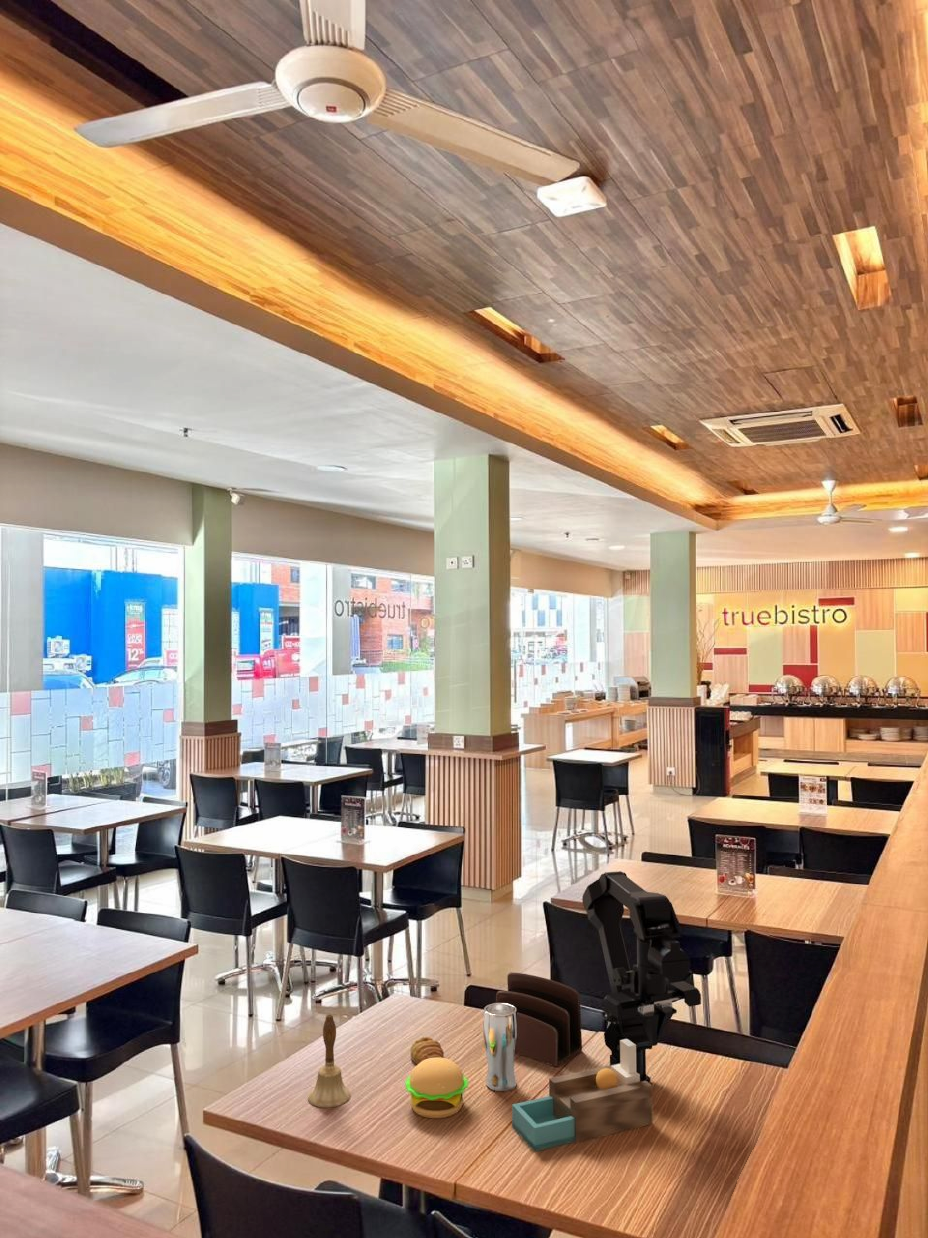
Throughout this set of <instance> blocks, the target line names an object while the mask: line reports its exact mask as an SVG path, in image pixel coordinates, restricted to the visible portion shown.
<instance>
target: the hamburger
mask: <svg viewBox="0 0 928 1238" xmlns="http://www.w3.org/2000/svg"><path fill="white" fill-rule="evenodd" d="M468 1086H469V1081H468V1078H466V1077H465V1075H464V1073H463V1071H462V1070H461V1068H460V1066H459V1065H458V1064H456V1062H454V1061H453V1060H451V1059H449V1058H446V1057H444V1058H429V1059H425V1060H423V1061H422V1062H420V1063H419V1064H418V1065H417V1064H416V1065H415V1067H414V1068H413V1069H412V1071H411V1073H410V1075H408V1077H407V1079H406V1082H405V1089H406V1091H407V1092H408V1093H410V1101H409V1102H410V1107H411V1108H412V1110H413V1111H414V1112H415V1113H416V1114H417V1115H419V1116H421V1117H424V1118H427V1119H444V1118H448V1117H452V1116H454V1115H455V1114H457V1113H458V1112H460V1110H461V1108H462V1106H463V1105H464V1097H463V1095H464V1094H463V1093H464V1091H465V1090H466V1089H467V1088H468Z"/></svg>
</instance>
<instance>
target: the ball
mask: <svg viewBox="0 0 928 1238" xmlns="http://www.w3.org/2000/svg"><path fill="white" fill-rule="evenodd" d="M596 1083H597V1086H598V1087H599V1088H600V1089H601V1090H606V1089H610V1088H615V1087H617V1083H618V1079H617V1076H616V1074H615V1072H614V1071H613V1070H611V1069H608V1068H604V1069H601V1070H600V1071H599V1072H598V1074H597V1076H596Z"/></svg>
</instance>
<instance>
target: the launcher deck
mask: <svg viewBox="0 0 928 1238" xmlns="http://www.w3.org/2000/svg"><path fill="white" fill-rule="evenodd" d="M618 1064H620V1063H618ZM613 1065H617V1064H613ZM613 1065H610V1064H609V1065H605V1066H599V1067H595V1068H591V1069H587V1070H582V1071H578V1072H573V1073H568V1074H563V1075H558V1076H555V1077H554V1076H553V1077H550V1078H549V1079H548V1092H549V1093H548V1096H551V1097H552V1098H553V1115H554V1116H555V1117H556V1118H557V1119H561V1118H565V1117H570V1116H572V1117H573V1118H574V1119H575V1143H576V1144H578V1143H581V1142H585V1141H589V1140H594V1139H598V1138H602V1137H605V1136H608V1135H614V1134H617V1133H622V1132H626V1131H630V1130H633V1129H637V1128H641V1127H645V1126H649V1125H653V1098H652V1097H653V1094H652V1093H653V1090H652V1087H653V1086H652V1084H651V1083H649V1081H648V1082H647V1081H641V1082H637V1083H632V1084H628V1085H623V1086H619V1087H615V1088H610V1089H606V1090H601V1089H600V1088H599V1087H598V1086H597V1083H596V1076H597V1074H598V1072H599V1071H600V1070H601V1069H604V1068H608V1069H611V1066H613Z"/></svg>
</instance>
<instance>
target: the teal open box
mask: <svg viewBox="0 0 928 1238" xmlns="http://www.w3.org/2000/svg"><path fill="white" fill-rule="evenodd" d="M511 1128H513V1129H514V1131H515V1132H517V1134H518V1135H519V1136H520V1137H521V1138H522V1140H524V1141H525V1142H526V1144H527V1145H528V1146H529V1147H530V1148H531V1149H532V1150H533V1151H534V1152H539V1151H542V1150H547V1149H549V1148H554V1147H558V1146H563V1145H566V1144H571V1143H574V1142H575V1119H574V1118H573V1117H572V1116H570V1117H565V1118H561V1119H557V1118H556V1117H555V1116H554V1115H553V1098H552V1097H551V1096H549V1095H548V1096H544V1097H540V1098H534V1099H531V1100H527V1101H522V1102H518V1103H513V1104H511ZM575 1143H576V1142H575Z"/></svg>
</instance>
